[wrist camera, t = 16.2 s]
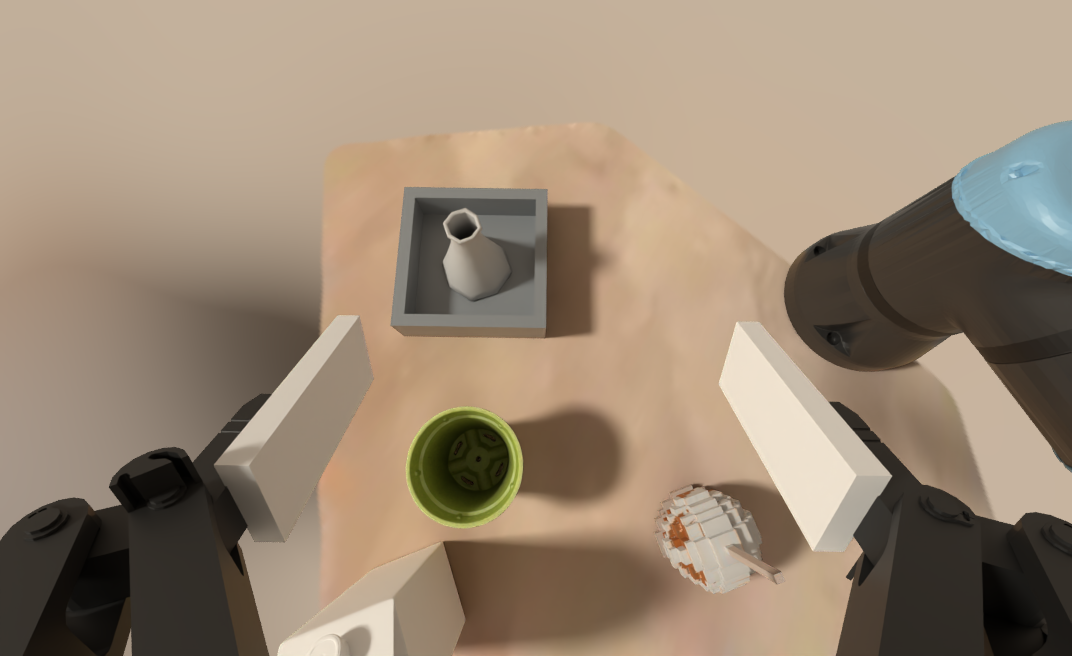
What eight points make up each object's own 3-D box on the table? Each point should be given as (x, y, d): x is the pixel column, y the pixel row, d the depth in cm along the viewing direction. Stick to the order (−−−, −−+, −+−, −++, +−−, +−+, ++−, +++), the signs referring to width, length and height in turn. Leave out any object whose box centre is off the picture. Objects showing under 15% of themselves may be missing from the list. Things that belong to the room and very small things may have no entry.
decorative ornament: (640, 501, 42) (696, 536, 28) (713, 474, 43) (805, 493, 28) (672, 586, 40) (750, 670, 26) (748, 555, 41) (865, 621, 26)
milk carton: (466, 619, 40) (406, 779, 21) (391, 650, 39) (262, 843, 20) (443, 540, 41) (368, 624, 23) (371, 569, 41) (234, 679, 22)
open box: (546, 210, 50) (547, 189, 45) (545, 338, 46) (546, 328, 42) (416, 208, 50) (404, 187, 45) (404, 336, 46) (390, 325, 42)
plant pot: (500, 527, 41) (492, 550, 33) (414, 484, 42) (384, 496, 34) (540, 435, 44) (542, 435, 35) (457, 396, 44) (439, 387, 36)
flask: (484, 226, 48) (471, 173, 38) (524, 274, 47) (521, 231, 37) (430, 263, 47) (403, 218, 37) (469, 313, 46) (452, 280, 36)
